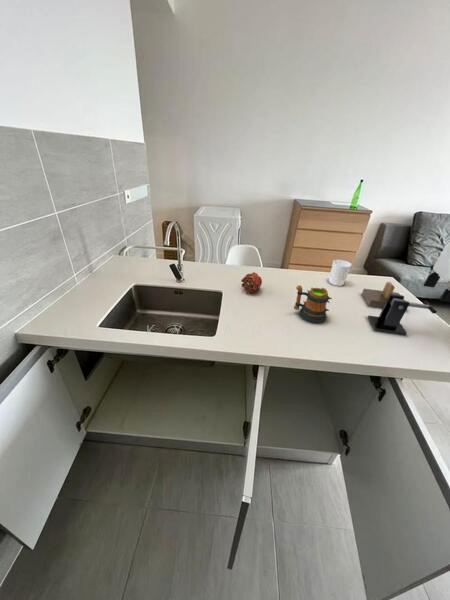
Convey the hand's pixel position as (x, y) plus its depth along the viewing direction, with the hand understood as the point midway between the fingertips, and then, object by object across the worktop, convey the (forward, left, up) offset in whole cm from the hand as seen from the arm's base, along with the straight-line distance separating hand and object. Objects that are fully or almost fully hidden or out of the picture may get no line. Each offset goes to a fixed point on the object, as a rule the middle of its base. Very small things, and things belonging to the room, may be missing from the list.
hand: (436, 293), depth 78 cm
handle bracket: (+10, 0, -15) cm, 18 cm away
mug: (+37, 0, -15) cm, 40 cm away
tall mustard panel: (+5, -18, -12) cm, 22 cm away
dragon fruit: (+60, -14, -15) cm, 63 cm away
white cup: (+21, -32, -15) cm, 41 cm away
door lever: (+5, 0, -6) cm, 8 cm away
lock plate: (+5, -18, -15) cm, 24 cm away
